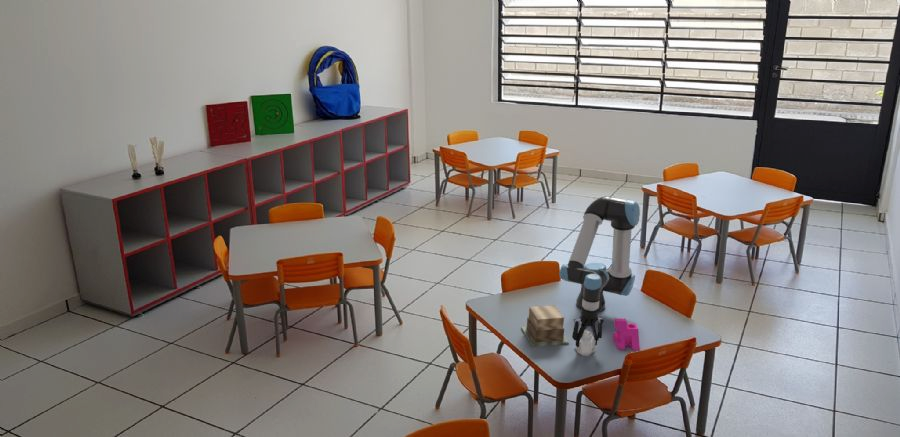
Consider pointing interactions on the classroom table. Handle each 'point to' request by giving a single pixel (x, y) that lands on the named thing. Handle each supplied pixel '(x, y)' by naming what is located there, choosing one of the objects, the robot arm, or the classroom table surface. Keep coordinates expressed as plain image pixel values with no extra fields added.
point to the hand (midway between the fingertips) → (585, 351)
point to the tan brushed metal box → (545, 326)
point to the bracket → (626, 335)
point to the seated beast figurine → (586, 344)
